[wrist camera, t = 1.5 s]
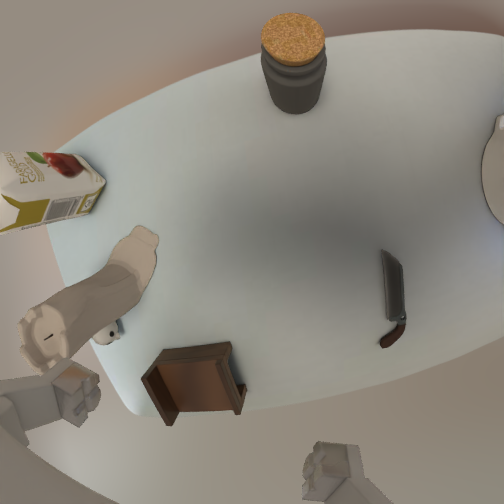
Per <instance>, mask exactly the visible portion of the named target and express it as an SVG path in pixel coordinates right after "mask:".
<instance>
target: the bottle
mask: <svg viewBox="0 0 504 504" xmlns="http://www.w3.org/2000/svg"><path fill="white" fill-rule="evenodd" d="M261 40H262V45H261V48H262V54H261V65H262V68H263V72H264V75H265V79H266V82H267V85H268V88H269V92H270V95H271V98H272V100H273V102H274V103H275V105H276V106H277V107H278V108H279V109H281V110H282V111H284V112H287V113H291V114H301V113H304V112H307V111H309V110H310V109H311V108H313V107H314V105H315V104H316V102H317V100H318V98H319V94H320V91H321V87H322V83H323V79H324V75H325V71H326V66H327V58H326V54H325V49H326V48H325V35H324V32H323V29H322V28H321V26H320V25H319V24H318V23H317V22H316V21H315V20H313V19H312V18H310V17H308V16H305V15H303V14H298V13H285V14H280V15H277V16H275V17H273V18H272V19H270V20H269V21H268V22H267V23H266V24H265V26H264V27H263V29H262V33H261Z"/></svg>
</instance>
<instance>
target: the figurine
mask: <svg viewBox="0 0 504 504" xmlns="http://www.w3.org/2000/svg"><path fill="white" fill-rule="evenodd" d="M92 339H93V340H94V341H95V342H96V343H97V344H100V345H108V344H110V343H112V342H113V341H114V340H118V339H120V335H119V333H118V326H117V323H116V321H114V322H112V323H111V324H109V325H108V326H106V327H104V328H103V329H102V330H100V331H99V332H98V333H96V334H95V335H94V336H93V337H92Z"/></svg>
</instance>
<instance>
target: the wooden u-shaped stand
mask: <svg viewBox="0 0 504 504" xmlns="http://www.w3.org/2000/svg"><path fill="white" fill-rule="evenodd" d="M231 350H232V346H231V343H230V342H224V343H217V344H209V345H202V346H193V347H185V348H176V349H166V350H163V351H162V352H161V353H160V354H159V356H158V357H157V358H156V360H155V361H154V362H153V364H152V365H151V366H150V367H149V369H148V370H147V371H146V373H145V374H144V375H143V376H142V378H141V381H142V382H143V384H144V386H145V388H146V390H147V392H148V394H149V396H150V398H151V399H152V401H153V403H154V405H155V407H156V408H157V410H158V412H159V414H160V415H161V417H162V419H163V420H164V422H165V424H166V426H172V425H173V423H174V422H175V420H176V418H177V416H178V414H179V412H199V411H223V410H233V411H234V413H235V415H240V414H241V411H242V407H243V403H244V400H245V396H246V392H247V388H246V386H245V384H244V385H236V384H235V381H234V379H233V376H232V374H231V371H230V368H229V366H228V363H227V360H228V358H229V355H230V353H231Z"/></svg>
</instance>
